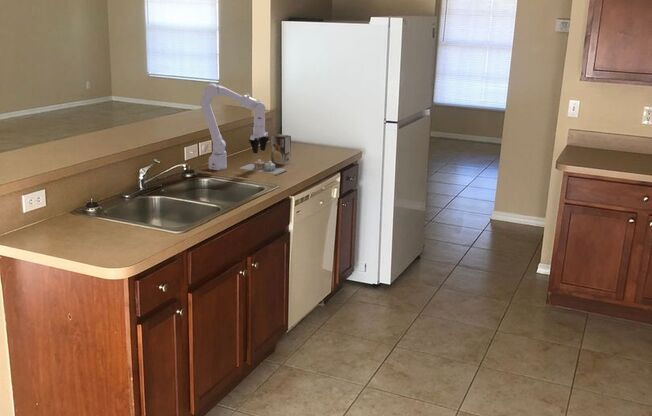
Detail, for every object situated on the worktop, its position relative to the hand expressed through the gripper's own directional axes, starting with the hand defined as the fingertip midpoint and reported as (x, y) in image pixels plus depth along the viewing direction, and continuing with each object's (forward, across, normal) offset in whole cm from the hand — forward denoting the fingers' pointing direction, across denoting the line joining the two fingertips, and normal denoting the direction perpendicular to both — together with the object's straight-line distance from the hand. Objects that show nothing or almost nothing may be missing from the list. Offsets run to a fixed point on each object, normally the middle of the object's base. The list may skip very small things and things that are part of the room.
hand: (259, 151), depth 348 cm
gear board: (+10, 0, -2) cm, 10 cm away
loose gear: (+9, 0, 0) cm, 9 cm away
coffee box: (+10, +18, -3) cm, 21 cm away
